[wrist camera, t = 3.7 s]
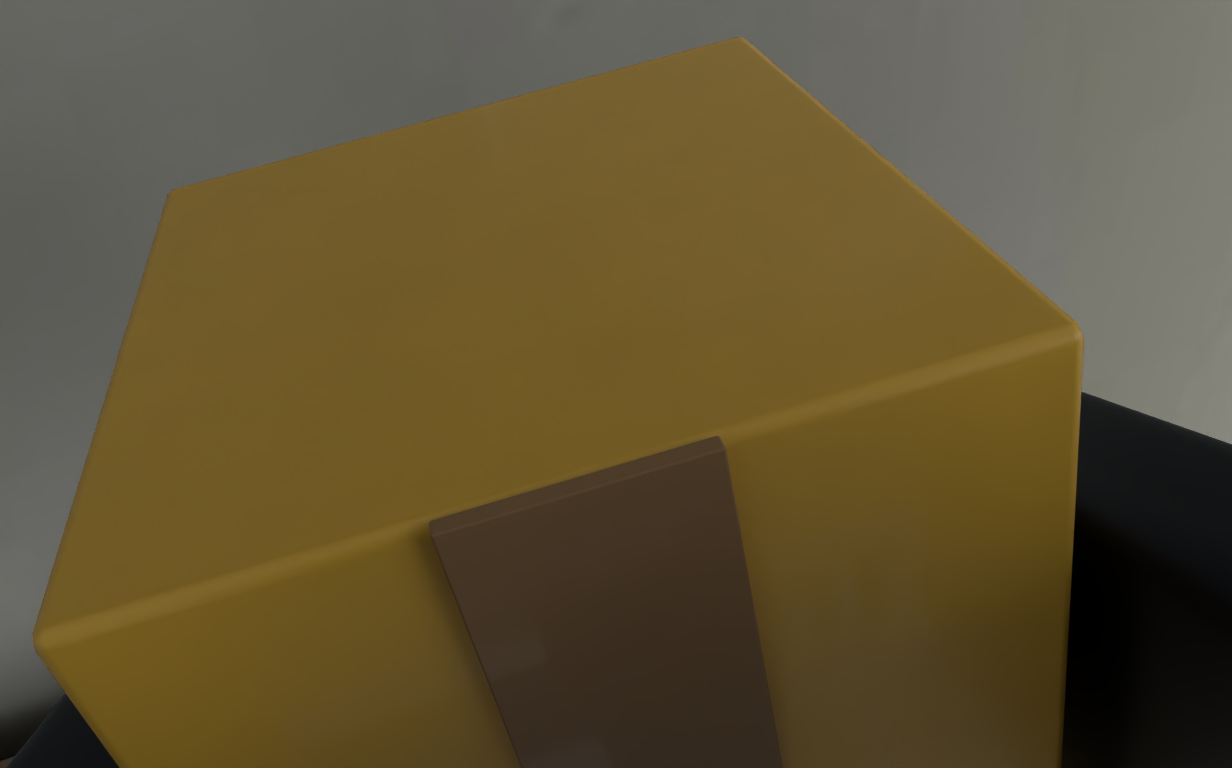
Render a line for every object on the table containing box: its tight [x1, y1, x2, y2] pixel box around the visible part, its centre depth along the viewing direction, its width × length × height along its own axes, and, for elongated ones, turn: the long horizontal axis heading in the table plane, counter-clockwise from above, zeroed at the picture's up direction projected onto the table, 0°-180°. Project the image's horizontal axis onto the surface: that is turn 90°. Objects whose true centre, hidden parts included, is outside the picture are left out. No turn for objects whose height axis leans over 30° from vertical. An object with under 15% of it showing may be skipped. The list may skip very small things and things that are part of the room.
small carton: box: [33, 37, 1084, 768], centre depth 8 cm, size 5×4×5 cm
